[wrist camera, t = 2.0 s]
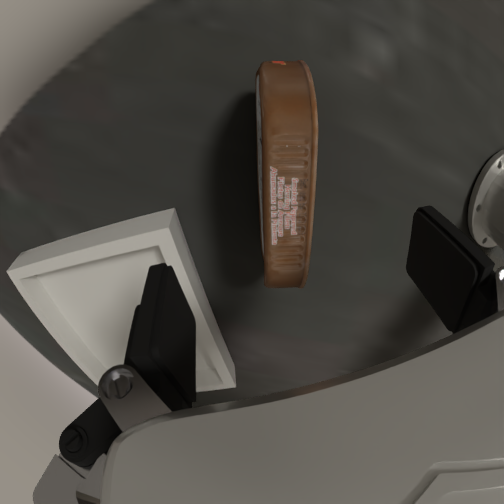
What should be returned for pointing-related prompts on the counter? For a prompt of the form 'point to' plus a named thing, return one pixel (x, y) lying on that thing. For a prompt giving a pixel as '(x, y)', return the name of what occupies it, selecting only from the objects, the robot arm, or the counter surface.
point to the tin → (286, 169)
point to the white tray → (116, 293)
